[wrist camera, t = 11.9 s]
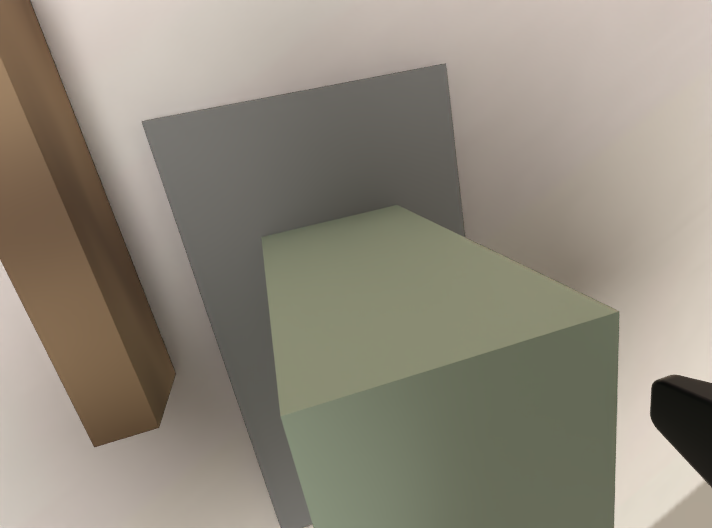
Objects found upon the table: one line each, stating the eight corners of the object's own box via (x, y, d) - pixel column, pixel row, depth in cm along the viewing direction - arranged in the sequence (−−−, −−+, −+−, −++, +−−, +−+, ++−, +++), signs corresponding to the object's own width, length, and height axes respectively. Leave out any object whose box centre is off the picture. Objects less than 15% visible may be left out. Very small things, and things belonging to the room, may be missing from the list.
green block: (397, 204, 12) (619, 311, 5) (427, 401, 15) (610, 676, 7) (261, 237, 12) (279, 416, 4) (315, 437, 14) (388, 781, 7)
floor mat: (483, 452, 17) (489, 460, 16) (282, 525, 15) (283, 534, 15) (439, 65, 12) (446, 63, 12) (145, 121, 11) (141, 121, 10)
